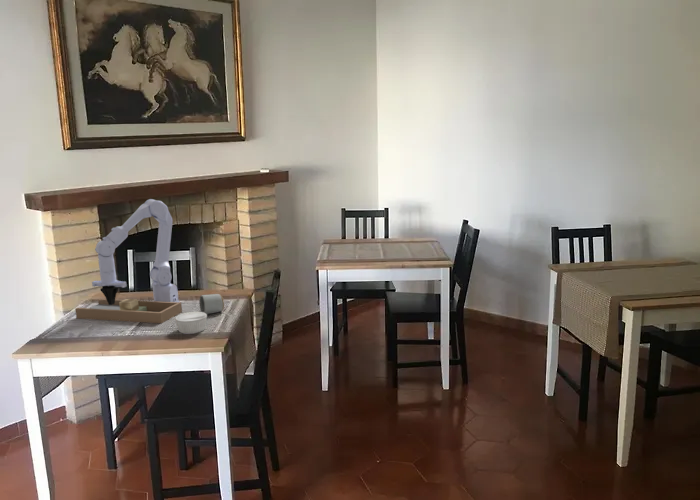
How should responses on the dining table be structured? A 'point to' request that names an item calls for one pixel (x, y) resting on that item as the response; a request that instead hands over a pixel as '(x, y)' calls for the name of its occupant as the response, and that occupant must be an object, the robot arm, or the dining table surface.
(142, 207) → the robot arm
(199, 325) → the ramekin
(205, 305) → the ceramic mug
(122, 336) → the dining table surface
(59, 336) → the dining table surface
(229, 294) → the dining table surface
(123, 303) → the wood block
